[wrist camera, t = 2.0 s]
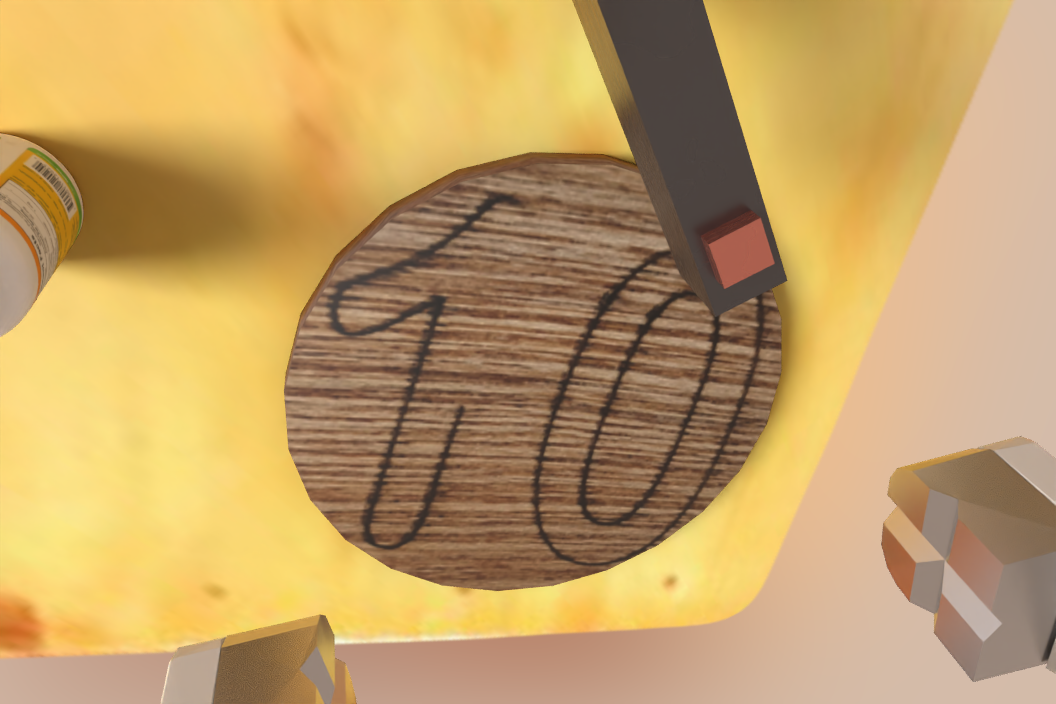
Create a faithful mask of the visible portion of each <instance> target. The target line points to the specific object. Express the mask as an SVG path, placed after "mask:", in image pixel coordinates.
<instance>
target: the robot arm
mask: <svg viewBox="0 0 1056 704" xmlns="http://www.w3.org/2000/svg"><path fill="white" fill-rule="evenodd" d="M888 496H889V497H890V498H891V499H892V500H893V502H894V503H895V504H896V505H897V507H896V508H895V509H894V511H893V512H892V513H891V514H890V516H889V517H888V518H887V519H886V520H885V522H884V523H883V532H882V543H881V545H882V549H883V552H884V556H885V561H886V564H887V568H888V569H889V572H890V573H891V575H892V577H893V579H894V581H895V583H896V585H897V586H898V587H899V589H900V590H901V591H902V593H903V594H904V595H905V596H906V598H907V599H908V600H909V602H911V603H913V604H915V605H917V606H920V607H921V608H923V609H926V610H928V611H930V612H932V613H934V634H935V635H936V636H937V637H938V639H939V640H940V641H941V642H942V644H943V645H944V646H945V647H946V649H947V650H948V651H949V652H950V654H951V655H952V656H953V657H954V659H955V660H956V661H957V662H958V664H959V665H960V666H961V667H962V669H963V670H964V671H965V672H966V674H967V675H968V676H969V678H970V679H971V680H972V681H973V682H976V681H979V680H983V679H987V678H991V677H995V676H999V675H1003V674H1007V673H1011V672H1015V671H1019V670H1023V669H1027V668H1031V667H1035V666H1039V665H1042V664H1046V663H1047V666H1046V668H1047V669H1049V670H1050V671H1052V672H1054V673H1056V458H1055V457H1053V456H1052V455H1051V454H1050V453H1048V452H1047V451H1046V450H1045V449H1044V448H1042V447H1041V446H1040V445H1039V444H1037V443H1036V442H1034V441H1032V440H1030V439H1027V438H1024V437H1021V436H1020V437H1015V438H1012V439H1008V440H1004V441H1000V442H996V443H992V444H988V445H985V446H981V447H978V448H977V449H968V450H965V451H961V452H957V453H953V454H949V455H945V456H942V457H938V458H934V459H930V460H927V461H923V462H920V463H915V464H911V465H908V466H904V467H900V468H897V469H896V471H895V472H894V473H893V475H892V476H891V478H890V482H889V488H888ZM334 652H335V649H334V634H333V632H332V629H331V627H330V625H329V623H328V620H327V618H326V616H324V615H317V616H312V617H308V618H304V619H299V620H295V621H290V622H286V623H282V624H277V625H273V626H268V627H264V628H259V629H255V630H251V631H246V632H242V633H237V634H233V635H228V636H227V637H223V638H219V639H214V640H210V641H206V642H201V643H197V644H193V645H188V646H184V647H179V648H178V649H177V650H176V652H175V654H174V655H173V657H172V659H171V661H170V663H169V666H168V670H167V675H166V680H165V685H164V689H163V694H162V699H161V704H357V703H356V697H355V693H354V689H353V685H352V681H351V677H350V675H349V672H348V670H347V667H346V664H345V663H344V662H342V661H341V660H339V659H337V658H335V653H334Z"/></svg>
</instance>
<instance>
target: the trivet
mask: <svg viewBox="0 0 1056 704" xmlns="http://www.w3.org/2000/svg"><path fill="white" fill-rule="evenodd" d="M780 375H781V317H780V313H779V310H778V307H777V304H776V301H775V298H774V295H773V292H772V289H770V290H768V291H766V292H764V293H762V294H760V295H758V296H756V297H754V298H752V299H750V300H748V301H746V302H744V303H742V304H740V305H738V306H736V307H734V308H732V309H730V310H728V311H726V312H724V313H723V314H721V315H719V316H717V317H715V316H714V314H713V313H712V312H711V311H710V310H709V309H708V307H707V306H706V305H705V304H704V303H703V301H702V300H701V299H700V298H699V297H698V296H697V294H696V293H695V292H694V291H693V290H692V288H691V287H690V286H689V285H688V284H687V283H686V281H685V280H684V279H683V278H682V277H681V276H680V274H679V271H678V269H677V266H676V263H675V261H674V258H673V256H672V253H671V251H670V248H669V246H668V243H667V240H666V238H665V235H664V233H663V230H662V228H661V225H660V223H659V220H658V218H657V215H656V212H655V210H654V207H653V205H652V202H651V200H650V197H649V195H648V192H647V189H646V187H645V184H644V182H643V179H642V177H641V174H640V172H639V169H638V166H637V165H635V164H632V163H629V162H625V161H622V160H619V159H616V158H613V157H609V156H606V155H603V154H571V153H532V152H530V153H526V154H522V155H517V156H513V157H509V158H505V159H501V160H497V161H492V162H488V163H484V164H480V165H476V166H472V167H467V168H463V169H459V170H456V171H454V172H452V173H450V174H448V175H446V176H445V177H443V178H441V179H439V180H437V181H435V182H433V183H431V184H429V185H428V186H426V187H424V188H422V189H420V190H418V191H416V192H414V193H413V194H411V195H409V196H407V197H405V198H403V199H401V200H399V201H398V202H396V203H394V204H392V205H390V206H389V207H388V208H387V209H386V210H384V211H383V212H382V213H381V214H380V215H379V216H378V217H377V218H376V219H375V220H374V221H373V222H372V223H370V224H369V225H368V226H367V227H366V228H365V229H364V230H363V231H362V232H361V233H360V234H359V235H358V236H356V237H355V238H354V239H353V240H352V241H351V242H350V243H349V244H348V245H347V246H346V247H345V248H344V249H342V250H341V251H340V252H339V253H338V254H337V255H336V256H335V258H334V260H333V261H332V263H331V265H330V266H329V268H328V270H327V271H326V273H325V275H324V276H323V278H322V279H321V281H320V283H319V284H318V286H317V288H316V289H315V291H314V293H313V294H312V296H311V298H310V299H309V301H308V303H307V304H306V306H305V307H304V309H303V311H302V312H301V315H300V319H299V323H298V327H297V331H296V335H295V339H294V343H293V347H292V351H291V355H290V359H289V363H288V367H287V371H286V377H285V388H284V395H285V408H286V421H287V435H288V448H289V451H290V454H291V456H292V458H293V461H294V463H295V465H296V468H297V470H298V472H299V475H300V477H301V479H302V482H303V484H304V486H305V489H306V491H307V493H308V495H309V498H310V500H311V501H312V502H313V503H314V504H315V506H316V507H317V508H318V509H319V510H320V511H321V512H322V514H323V515H324V516H325V517H326V518H327V519H328V520H329V521H330V523H331V524H332V525H333V526H334V527H335V528H336V529H337V531H338V532H339V533H340V534H341V535H342V536H343V537H344V538H345V540H347V541H348V542H350V543H352V544H353V545H355V546H356V547H358V548H359V549H361V550H363V551H364V552H366V553H367V554H369V555H370V556H372V557H374V558H375V559H377V560H378V561H380V562H382V563H383V564H385V565H386V566H388V567H389V568H391V569H394V570H397V571H400V572H403V573H406V574H409V575H412V576H415V577H418V578H421V579H425V580H428V581H431V582H434V583H437V584H440V585H443V586H453V587H463V588H473V589H483V590H493V591H502V590H512V589H523V588H533V587H543V586H553V585H557V584H560V583H564V582H567V581H571V580H574V579H578V578H581V577H585V576H588V575H592V574H595V573H599V572H602V571H606V570H608V569H610V568H612V567H614V566H616V565H618V564H620V563H623V562H625V561H627V560H629V559H631V558H633V557H635V556H637V555H639V554H641V553H643V552H645V551H647V550H649V549H651V548H653V547H655V546H657V545H659V544H660V543H661V542H663V541H664V540H665V539H667V538H668V537H669V536H671V535H672V534H673V533H675V532H676V531H677V530H679V529H680V528H681V527H683V526H684V525H685V524H687V523H688V522H689V521H691V520H692V519H693V518H695V517H696V516H697V515H699V514H700V513H701V512H703V511H704V510H705V508H706V507H707V506H708V505H709V504H710V503H711V502H712V501H713V500H714V498H715V497H716V496H717V495H718V494H719V493H720V492H721V491H722V490H723V489H724V487H725V486H726V485H727V484H728V483H729V482H730V481H731V480H732V479H733V477H734V476H735V475H736V474H737V473H738V472H739V471H740V469H741V467H742V466H743V464H744V462H745V460H746V459H747V457H748V455H749V453H750V452H751V450H752V448H753V447H754V445H755V443H756V441H757V440H758V438H759V436H760V434H761V433H762V431H763V429H764V427H765V426H766V424H767V421H768V417H769V414H770V410H771V407H772V403H773V400H774V396H775V393H776V389H777V386H778V382H779V379H780Z"/></svg>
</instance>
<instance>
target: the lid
mask: <svg viewBox="0 0 1056 704" xmlns="http://www.w3.org/2000/svg"><path fill="white" fill-rule="evenodd" d="M572 1H573V3H574V6H575V8H576V11H577V13H578V16H579V18H580V21H581V24H582V26H583V29H584V31H585V34H586V36H587V39H588V41H589V44H590V47H591V49H592V52H593V54H594V57H595V59H596V62H597V64H598V67H599V70H600V72H601V75H602V77H603V80H604V82H605V85H606V87H607V90H608V92H609V95H610V98H611V100H612V103H613V105H614V108H615V110H616V113H617V115H618V118H619V121H620V123H621V126H622V128H623V131H624V133H625V136H626V138H627V141H628V144H629V146H630V149H631V151H632V154H633V156H634V159H635V161H636V164H637V166H638V169H639V172H640V174H641V177H642V179H643V182H644V184H645V187H646V189H647V192H648V195H649V197H650V200H651V202H652V205H653V207H654V210H655V212H656V215H657V218H658V220H659V223H660V225H661V228H662V230H663V233H664V235H665V238H666V240H667V243H668V246H669V248H670V251H671V253H672V256H673V258H674V261H675V263H676V266H677V269H678V271H679V274H680V276H681V277H682V278H683V279H684V280H685V281H686V283H687V284H688V285H689V286H690V287H691V288H692V290H693V291H694V292H695V293H696V294H697V296H698V297H699V298H700V299H701V300H702V301H703V303H704V304H705V305H706V306H707V307H708V309H709V310H710V311H711V312H712V313H713V314H714V316H715V317H717V316H719V315H721V314H723V313H724V312H726V311H728V310H730V309H732V308H734V307H736V306H738V305H740V304H742V303H744V302H746V301H748V300H750V299H752V298H754V297H756V296H758V295H760V294H762V293H764V292H766V291H768V290H770V289H772V288H774V287H776V286H778V285H780V284H782V283H784V282H786V281H787V278H786V275H785V271H784V268H783V265H782V261H781V258H780V255H779V252H778V248H777V245H776V242H775V238H774V235H773V232H772V228H771V225H770V222H769V218H768V215H767V212H766V208H765V205H764V202H763V199H762V195H761V192H760V189H759V185H758V182H757V179H756V175H755V172H754V169H753V165H752V162H751V159H750V155H749V152H748V149H747V146H746V142H745V139H744V136H743V132H742V129H741V126H740V122H739V119H738V116H737V112H736V109H735V106H734V102H733V99H732V96H731V93H730V89H729V86H728V83H727V79H726V76H725V73H724V69H723V66H722V63H721V59H720V56H719V53H718V49H717V46H716V43H715V40H714V36H713V33H712V30H711V26H710V23H709V20H708V16H707V13H706V10H705V6H704V3H703V0H572Z"/></svg>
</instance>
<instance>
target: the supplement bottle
mask: <svg viewBox="0 0 1056 704" xmlns="http://www.w3.org/2000/svg"><path fill="white" fill-rule="evenodd" d="M83 215H84V210H83V202H82V197H81V194H80V192H79V189H78V187H77V185H76V182H75V181H74V179H73V177H72V176H71V174H70V173H69V171H68V170H67V169H66V168H65V167H64V166H63V164H62V163H60V162H59V161H58V160H57V159H56V158H55V157H54V156H53V155H52V154H50V153H49V152H48V151H46V150H45V149H43V148H41V147H40V146H38V145H36V144H34V143H32V142H30V141H27V140H25V139H22V138H19V137H16V136H12V135H8V134H1V133H0V337H1V336H3V335H5V334H6V333H8V332H9V331H10V330H12V329H13V328H14V327H15V326H16V325H17V324H19V323H20V321H21V320H22V319H23V318H24V316H25V315H26V314H27V312H28V311H29V310H30V308H31V307H32V305H33V304H34V302H35V301H36V300H37V297H38V296H39V294H40V293H41V291H42V290H43V288H44V287H45V285H46V284H47V282H48V281H49V279H50V278H51V276H52V275H53V273H54V272H55V270H56V269H57V267H58V266H59V264H60V263H61V261H62V260H63V258H64V257H65V255H66V254H67V253H68V251H69V250H70V248H71V246H72V245H73V243H74V242H75V240H76V238H77V236H78V234H79V232H80V230H81V227H82V223H83Z"/></svg>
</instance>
